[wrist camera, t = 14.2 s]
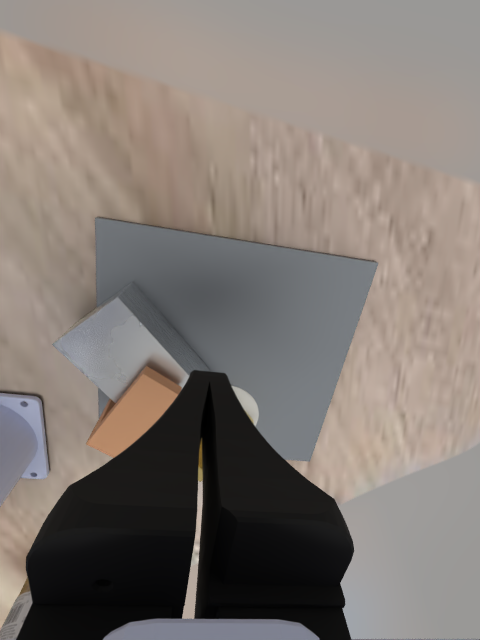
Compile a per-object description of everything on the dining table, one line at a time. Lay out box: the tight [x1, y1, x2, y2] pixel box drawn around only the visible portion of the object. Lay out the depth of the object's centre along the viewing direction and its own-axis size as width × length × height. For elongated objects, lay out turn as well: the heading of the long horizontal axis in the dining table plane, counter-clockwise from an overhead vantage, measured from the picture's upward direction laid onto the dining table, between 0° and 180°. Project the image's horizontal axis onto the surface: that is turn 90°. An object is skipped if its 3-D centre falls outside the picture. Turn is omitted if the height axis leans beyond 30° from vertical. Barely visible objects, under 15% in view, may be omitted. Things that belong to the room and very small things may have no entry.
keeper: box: [86, 366, 182, 458], centre depth 20 cm, size 6×2×5 cm, turn 141°
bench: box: [95, 217, 378, 461], centre depth 20 cm, size 17×17×3 cm
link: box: [52, 281, 254, 482], centre depth 20 cm, size 13×5×3 cm, turn 34°
